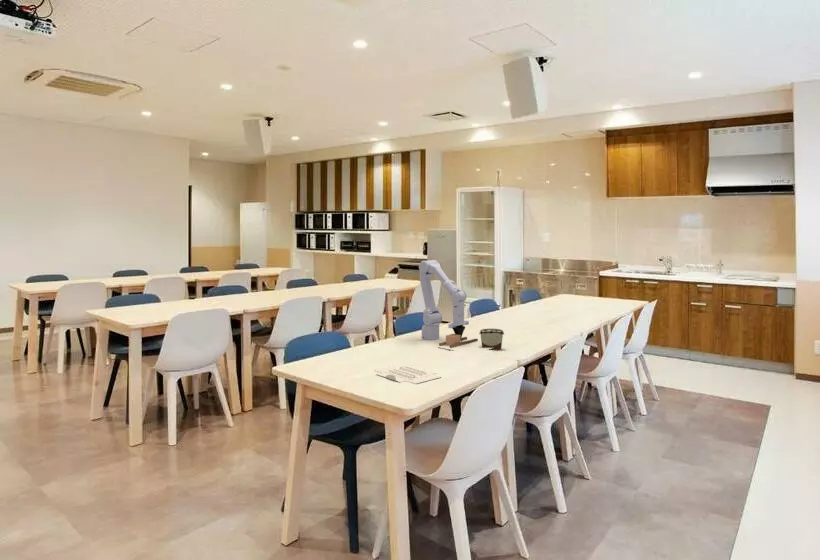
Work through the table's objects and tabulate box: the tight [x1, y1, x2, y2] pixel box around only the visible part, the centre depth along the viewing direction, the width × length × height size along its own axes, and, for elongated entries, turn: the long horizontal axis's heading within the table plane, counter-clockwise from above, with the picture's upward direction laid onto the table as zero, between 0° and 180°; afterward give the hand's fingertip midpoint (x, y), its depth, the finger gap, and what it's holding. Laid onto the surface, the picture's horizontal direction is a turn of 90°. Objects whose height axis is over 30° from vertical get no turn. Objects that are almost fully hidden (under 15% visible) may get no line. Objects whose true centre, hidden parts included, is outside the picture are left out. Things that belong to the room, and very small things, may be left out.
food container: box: [478, 328, 505, 351], centre depth 270 cm, size 12×6×10 cm, turn 84°
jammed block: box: [445, 333, 462, 347], centre depth 275 cm, size 5×6×5 cm
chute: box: [437, 336, 479, 352], centre depth 279 cm, size 10×22×2 cm, turn 137°
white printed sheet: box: [374, 364, 442, 385], centre depth 225 cm, size 20×28×4 cm
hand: (458, 340), depth 279 cm, fingers closed
